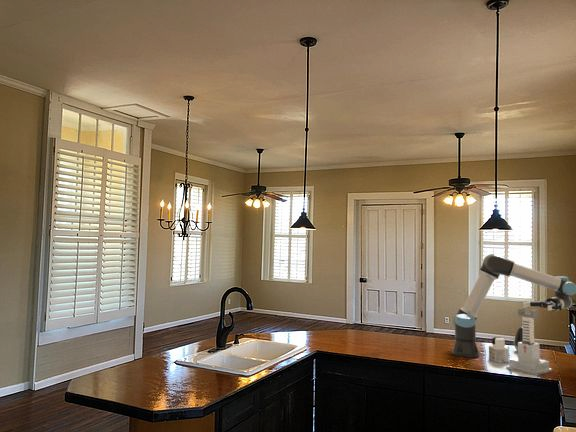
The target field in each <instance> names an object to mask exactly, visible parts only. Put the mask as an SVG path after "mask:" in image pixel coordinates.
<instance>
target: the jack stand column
mask: <svg viewBox="0 0 576 432" xmlns="http://www.w3.org/2000/svg"><path fill="white" fill-rule="evenodd" d="M517 316H518V317H521V318H522V323H521V324H522V327H523V341H526V342H529V344H530V345H532V344H534V343H535V320H534V319H536V318H539V310H538V309H531V310H530V312H526V308H523V307H522V308H520V307H519V308H517Z"/></svg>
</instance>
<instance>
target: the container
mask: <svg viewBox="0 0 576 432" xmlns="http://www.w3.org/2000/svg"><path fill="white" fill-rule="evenodd" d="M505 340H506V339H505V338H503V337H501V336H500V337H499V336H494V337H491V341H492V342H491V343H492V344H491V345H488V360H491V361H492V362H494V363H509V359H510V358H509V356H510V355H509V354H510V353H509V348H508V347H506V346H505V345H506V343H505V342H506V341H505Z"/></svg>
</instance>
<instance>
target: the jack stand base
mask: <svg viewBox="0 0 576 432" xmlns="http://www.w3.org/2000/svg"><path fill="white" fill-rule="evenodd" d="M540 352H541V351H540V342H539V343H538V342H534V344H532V345H530V344H529V342H526V341H522V342H518V351H517V357H513V358H509V362H508V365H506V367H505V368H506V369H507V370H512V371H515V372H519V373H525V374H528V375H532V376H540V375H544V374H547V373H550V372H552V371H553V368H551V367H550V361H549V360H546V359H541V358H540V357H541V355H540V354H541V353H540Z"/></svg>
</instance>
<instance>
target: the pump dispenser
mask: <svg viewBox="0 0 576 432" xmlns="http://www.w3.org/2000/svg"><path fill="white" fill-rule="evenodd" d="M515 332H516V333H515V336H514V339H513V346H514V348H515V350H516V351H517V352H518V342H522V341H523V326H518V328H517V330H516V331H515Z"/></svg>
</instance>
